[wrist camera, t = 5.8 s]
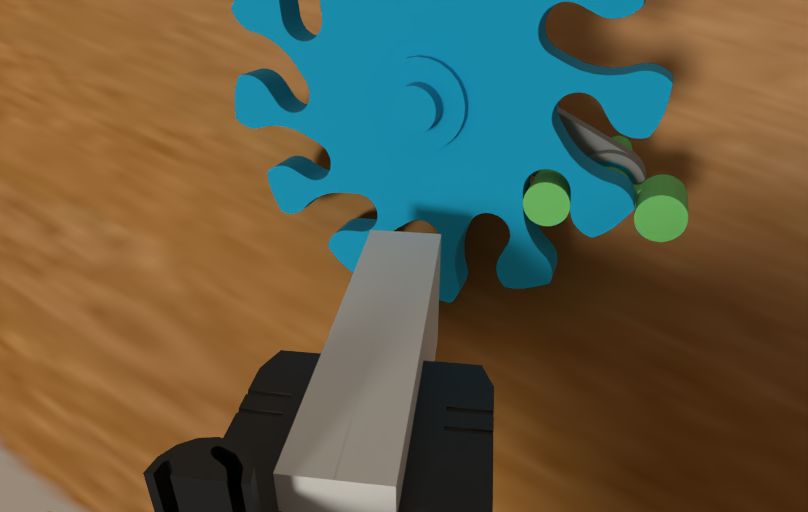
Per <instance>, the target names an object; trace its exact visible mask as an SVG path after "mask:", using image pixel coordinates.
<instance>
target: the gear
mask: <svg viewBox="0 0 808 512" xmlns="http://www.w3.org/2000/svg"><path fill="white" fill-rule="evenodd" d="M567 1H568V2H574V3H577V4H579V5H581V6H583V7H585V8H587V9H588V10H590V11H592V12H594V13H595V14H597V15H599V16H602V17H604V18H611V19H616V18H623V17H626V16H629V15H631V14H633V13H635V12H636V11H638V10H639V9H640V8H641V7H643V5H644V3H645V0H320V4H321V12H322V26H321V30H320V32H319V34H318V35H317V36H316V35H314V34H312V33H310V32H309V31H308V30H307V29H306V27H305V26H304V25H303V22H302V20H301V17H300V11H299V4H298V0H234V3H233V5H232V7H231V9H232V11H233V14H234V16H235V17H236V19H237V20H238V22H239V23H240V24H241V25H242V26H243V27H244V28H246V29H248V30H249V31H252V32H255V33H258V34H261V35H263V36H265V37H267V38H269V39H270V40H272V41H273V42H274V43H276V44H277V45H278V46H280V47H281V48H282V49H283V50H284V51H285V52H286V53H287V54H288V55H289V56H290V58H291V59H292V61H293V62H294V63H295V65H296V66H297V68H298V69H299V71H300V72H301V74H302V75H303V77H304V78H305V80H306V82H307V84H308V87H309V91H310V98H309V102H308V104H304V103H302V102H300V101H299V100H298V99H297V98H296V97H295V96H294V94H293V93H292V91H291V90H290V88H289V87H288V85H287V84H286V82H285V81H284V79H283V78H282V77H281V76H280V75H279V74H278V73H276V72H274V71H273V70H270V69H258V70H255V71H252V72H249V73H246V74H243V75H240V76H239V78H238V81H237V84H236V90H235V111H236V119H237V120H238V121H239V122H240V123H242V124H243V125H245V126H247V127H250V128H261V127H265V126H283V127H288V128H291V129H294V130H297V131H299V132H301V133H303V134H305V135H306V136H308V137H310V138H311V139H313V140H315V141H316V142H318V143H319V144H321V145H322V146H323V147H324V148H325V149H326V151H327V152H328V154H329V157H330V161H331V167H330V170H328V169H324V168H322V167H320V166H319V165H317V164H316V163H314V162H312V161H311V160H309V159H307V158H305V157H302V156H293V157H290V158H288V159H287V160H285V161H283V162H282V163H280V164H278V165H277V166H275V167H273V168H271V169H270V170H269V171H268V172H267V173H268V180H269V184H270V187H271V190H272V192H273V195H274V197H275V199H276V201H277V203H278V205H279V207H280V209H281V211H282V212H285V213H291V214H293V213H298V212H300V211H301V210H303V209H304V208H306V207H307V206H308V205H310V204H311V203H312V202H314V201H315V200H316V199H318V197H320V196H322V195H325V194H330V193H357V194H361V195H364V196H366V197H367V198H369V199H370V200H371V201H372V202H373V204H374V206H375V207H376V210H377V216H378V217H377V219H366V218H356V219H352V220H350V221H349V222H347V223H346V224H345V225H344V226H343V227H342V228H341V229H340V230H338V231H337V232H336V233H335V234H334V235H333V236H332V237H331V239H330V241H329V245H328V246H329V248H330V249H331V251H332V253H333V254H334V255H335V256H336V258H337V259H338V260H339V261H340V262H341V263H342V264H343V265H344V266H345V267H347V268H348V269H349V270H350V271H351V272H353V273H354V270H355V268H356V265H357V263H358V260H359V258H360V255H361V253H362V250H363V248H364V245H365V243H366V240H367V238H368V235H369V233H370V230H382V231H394V230H395V229H397V228H399V227H401V226H403V225H405V224H407V223H408V222H411V221H414V220H423V221H426V222H428V223H430V224H431V225H433V226H434V227H435V228H436V229H437V231H438V233H439V234H441V253H440V284H439V300H440V301H444V302H448V303H451V302H452V301H453V300H455V298H456V297H457V295H458V293H459V292H460V290H461V288H462V287H463V285H464V283H465V282H466V280H467V277H468V267H467V264H466V260H465V252H464V244H465V237H466V233H467V229H468V227H469V225H470V223H471V221H472V219H473V218H474V217H475V216H476V215H479V214H482V213H491V214H494V215H497V216H499V217H500V218H502V219H503V220H504V221H505V222H506V224H507V225H508V227H509V230H510V239H509V241H508V242H507V244H506V246H505V248H504V250H503V252H502V253H501V255H500V257H499V259H498V261H497V266H496V272H497V276H498V278H499V280H500V282H501V283H502V285H503V286H504V287H507V288H514V289H522V288H531V287H537V286H541V285H546V284H550V282H551V279H552V276H553V273H554V270H555V268H556V265H557V258H558V255H557V252H556V249H555V247H554V245H553V244H552V243H551V241H550V240H549V239H548V238H547V237H546V236H545V235H544V234H543V232H542V231H541V229H540V228H539V226H538V225H542V226H554V225H557V224H559V223H561V222H562V221H563V220H564V219H565V218H566V217H567V215H568V213H569V211H570V213H571V218H572V221H573V223H574V224H575V226H576V227H577V228H578V229H579V230H580V231H581V232H582V233H584V234H585V235H587V236H589V237H592V238H593V237H596V236H599V235H601V234H604V233H605V232H607V231H609V230H611V229H612V228H614V227H615V226H616V225H617V224H619V223H620V222H621V221H622V220H623V219H625V218H626V217H627V216H628V215H629V214H630V213H631V212H633V211H634V210H635V213H634V224H635V227H636V229H637V231H638V232H639V233H640V234H641V235H642V236H643V237H645V238H647V239H649V240H651V241H656V242H665V241H670V240H672V239H675V238H676V237H678V236H680V235H681V234H682V233H683V232H684V230H685V228H686V227H687V223H688V201H687V191H686V188H685V186H684V184H683V183H682V182H681V181H680V180H679V179H677V178H676V177H674V176H671V175H665V174H661V175H655V176H652V177H650V178H648V179H647V173H646V168H645V165H644V163H643V161H642V160H641V158H640V157H639V156H638V155H637V154H636V153H635V152H634V151H632V144H631V142H630V141H629V140H628V139H627V138H626V137H624V136H614V137H609V136H607V135H605V134H604V133H602V132H600V131H599V130H597V129H595V128H594V127H592V126H590V125H589V124H587V123H585V122H583V121H582V120H580V119H578V118H577V117H575V116H573V115H572V114H570V113H568V112H567V111H565V110H563V109H562V108H560V107H558V103H559V101H560V99H561V98H562V97H564V96H566V95H568V94H571V93H577V92H581V93H586V94H589V95H591V96H593V97H594V98H595V99H597V100H598V102H599V103H600V104H601V106H602V108H603V110H604V112H605V113H606V115H607V117H608V119H609V121H610V123H611V124H612V125H613V127H614V128H615V129H616V130H617V131H618V132H620V133H622V134H623V135H625V136H628V137H631V138H640V139H641V138H649V137H650V135H651V134H652V133H653V132H654V130H655V129H656V128H657V126H658V124H659V123H660V121H661V119H662V117H663V115H664V112H665V109H666V107H667V104H668V101H669V97H670V93H671V89H672V86H673V75H672V74H671V73H670V72H669V71H668V70H667V69H666V68H664V67H662V66H660V65H657V64H653V63H641V64H637V65H633V66H628V67H617V68H610V67H599V66H595V65H591V64H587V63H584V62H582V61H580V60H578V59H576V58H574V57H572V56H570V55H568V54H566V53H565V52H563V51H561V50H560V49H558V48H556V47H555V46H554V45H552V43H551V42H550V41H549V39H548V37H547V35H546V29H545V24H546V19H547V15H548V14H549V12H550V10H551V9H552V8H553V6H554V5H555V4H557V3H560V2H567ZM530 175H533V176H535V178H534V179H533V181H532V183H531V185H530ZM646 179H647V180H646Z"/></svg>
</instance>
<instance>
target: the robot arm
mask: <svg viewBox="0 0 808 512" xmlns="http://www.w3.org/2000/svg"><path fill="white" fill-rule="evenodd" d="M440 253H441V234H432V233H415V232H399V231H382V230H370V233H369V235H368V238H367V240H366V243H365V245H364V248H363V250H362V253H361V255H360V258H359V260H358V263H357V265H356V268H355V270H354V273H353V275H352V278H351V280H350V283H349V285H348V288H347V290H346V293H345V295H344V298H343V300H342V303H341V305H340V308H339V310H338V313H337V315H336V318H335V320H334V323H333V325H332V328H331V330H330V333H329V335H328V338H327V340H326V343H325V345H324V348H323V350H322V353H321V354H318V353H306V352H294V351H283V350H281V351H280V352H278V353H277V354H276V355H275V356H274V357H272V358H271V359H270V360H269V361H268V362H266V363H265V364H264V365H263V366H262V367H261V368H260V369H259V371H258V372H257V374H256V376H255V378H254V380H253V382H252V384H251V386H250V388H249V390H248V395H247V394H246V395H245V397H244V399H243V401H242V403H241V405H240V407H239V412H238V413H236V415H235V417H234V418H233V420H232V422H231V424H230V426H229V428H228V430H227V432H226V434H225V436H224V438H220V437H211V438H197V439H194V440H191V441H187V442H184V443H181V444H178V445H176V446H174V447H173V448H171V449H169V450H168V451H166V452H165V453H163V454H162V455H160V456H158V457H157V458H156V459H155V460H154V462H153V463H152V464H151V465H150V466H149V467H148V468H147V469H146V471H145V472H144V473H143V474H144V477H145V480H146V484H147V487H148V491H149V494H150V497H151V501H152V504H153V507H154V511H155V512H492V506H493V411H494V386H493V385H492V383H491V381H490V379H489V378H488V376H487V374H486V372H485V370H484V369H483V367H482V365H470V364H459V363H447V362H435V355H436V348H437V341H438V315H439V284H440Z"/></svg>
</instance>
